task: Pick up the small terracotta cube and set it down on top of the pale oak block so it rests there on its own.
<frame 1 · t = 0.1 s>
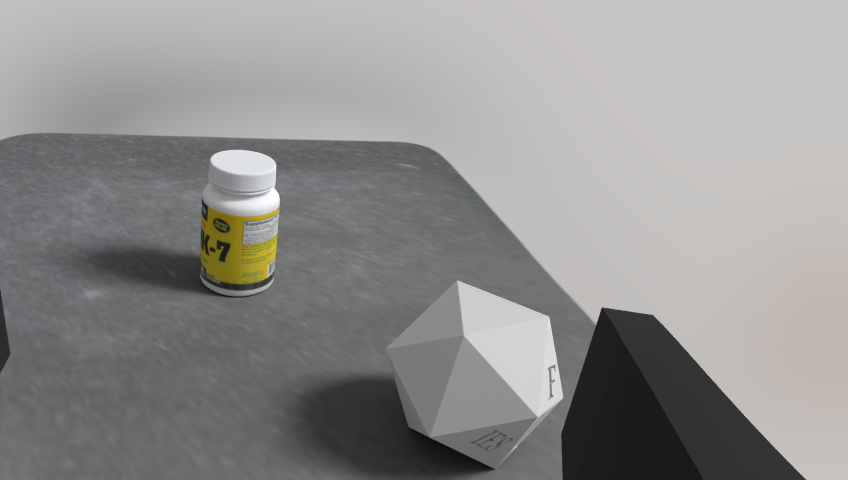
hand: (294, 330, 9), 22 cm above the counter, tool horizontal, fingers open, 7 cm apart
supplement bottle: (236, 282, 52), on the counter
die: (462, 435, 42), on the counter
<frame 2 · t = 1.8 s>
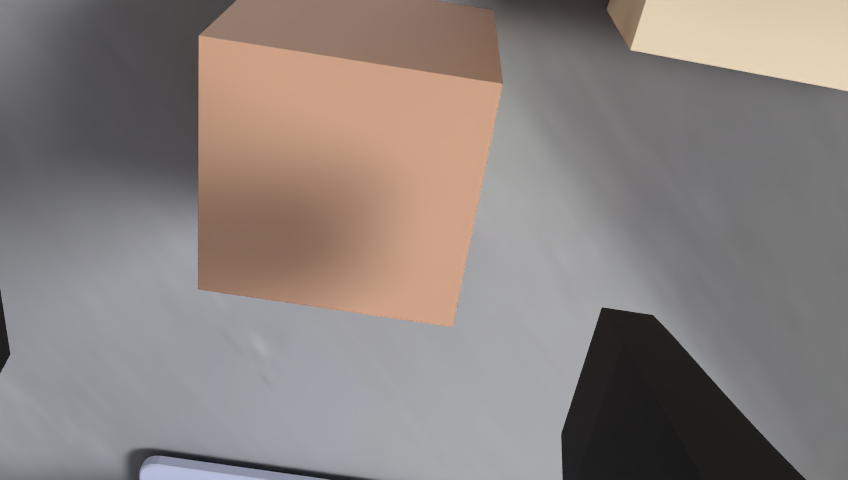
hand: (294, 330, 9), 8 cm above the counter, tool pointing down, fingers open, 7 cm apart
terracotta cube: (368, 98, 17), on the counter
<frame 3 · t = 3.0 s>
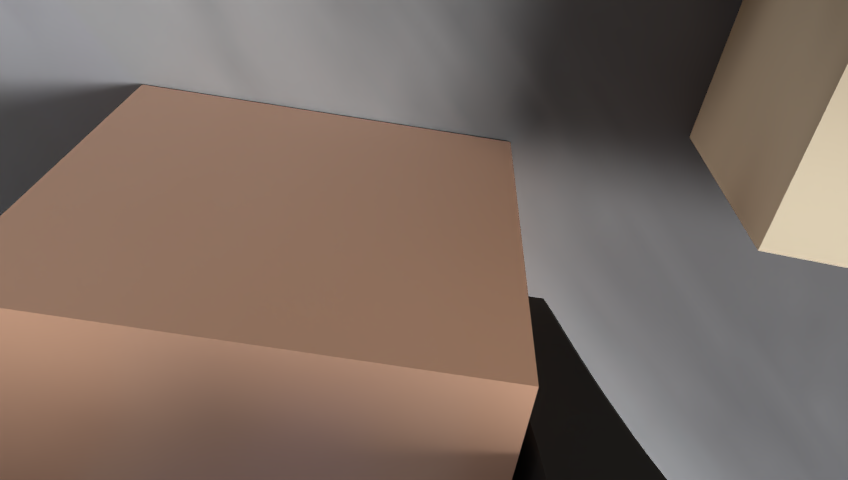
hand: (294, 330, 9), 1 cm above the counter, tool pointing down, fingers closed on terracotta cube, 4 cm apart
terracotta cube: (313, 268, 11), on the counter, touching gripper
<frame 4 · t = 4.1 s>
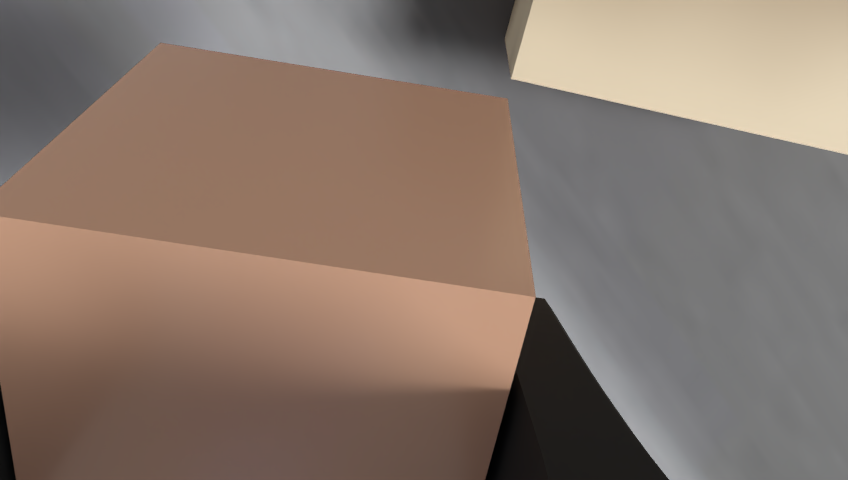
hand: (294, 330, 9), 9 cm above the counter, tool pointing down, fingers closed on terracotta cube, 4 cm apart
terracotta cube: (320, 221, 11), point 7 cm above the counter, touching gripper
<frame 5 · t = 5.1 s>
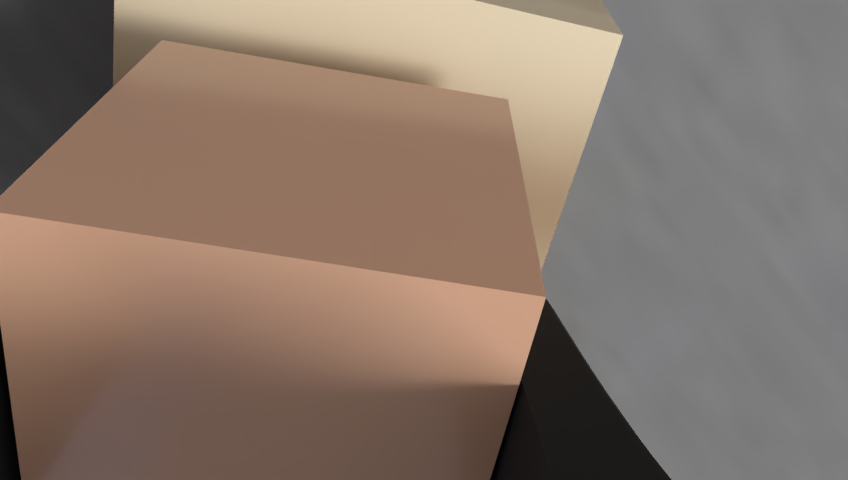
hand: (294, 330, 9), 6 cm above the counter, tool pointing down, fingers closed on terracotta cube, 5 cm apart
terracotta cube: (319, 219, 11), point 4 cm above the counter, touching gripper
oak block: (358, 128, 15), on the counter
when the fingers open (6 cm above the counter, at t = 5.7 s): terracotta cube stays where it is, resting on oak block.
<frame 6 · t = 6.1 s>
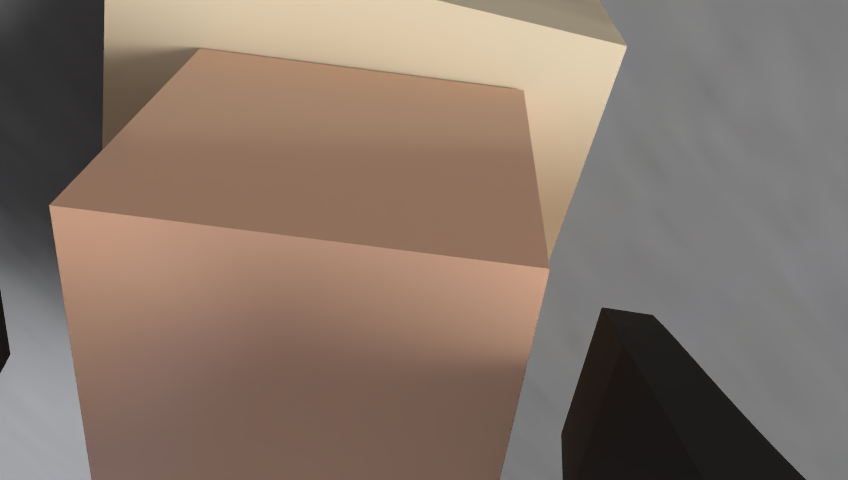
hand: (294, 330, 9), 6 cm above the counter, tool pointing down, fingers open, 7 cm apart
terracotta cube: (351, 210, 12), point 3 cm above the counter, touching oak block
oak block: (354, 135, 15), on the counter, touching terracotta cube
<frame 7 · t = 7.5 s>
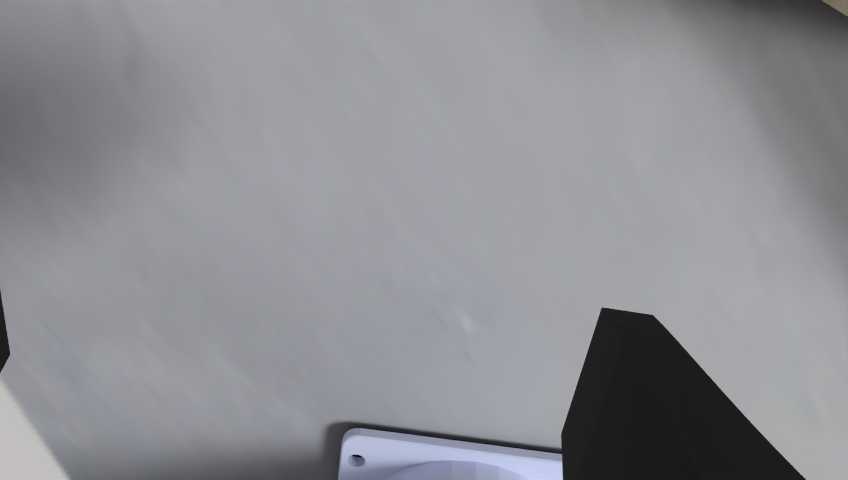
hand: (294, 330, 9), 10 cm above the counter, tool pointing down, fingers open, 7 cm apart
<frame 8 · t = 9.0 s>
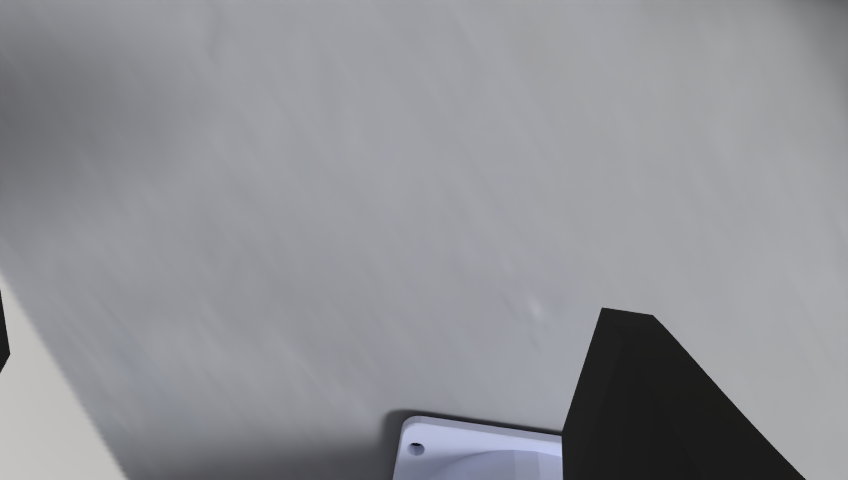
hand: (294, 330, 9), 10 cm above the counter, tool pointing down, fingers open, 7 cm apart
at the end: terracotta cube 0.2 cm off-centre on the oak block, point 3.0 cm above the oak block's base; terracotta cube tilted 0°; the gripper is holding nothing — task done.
